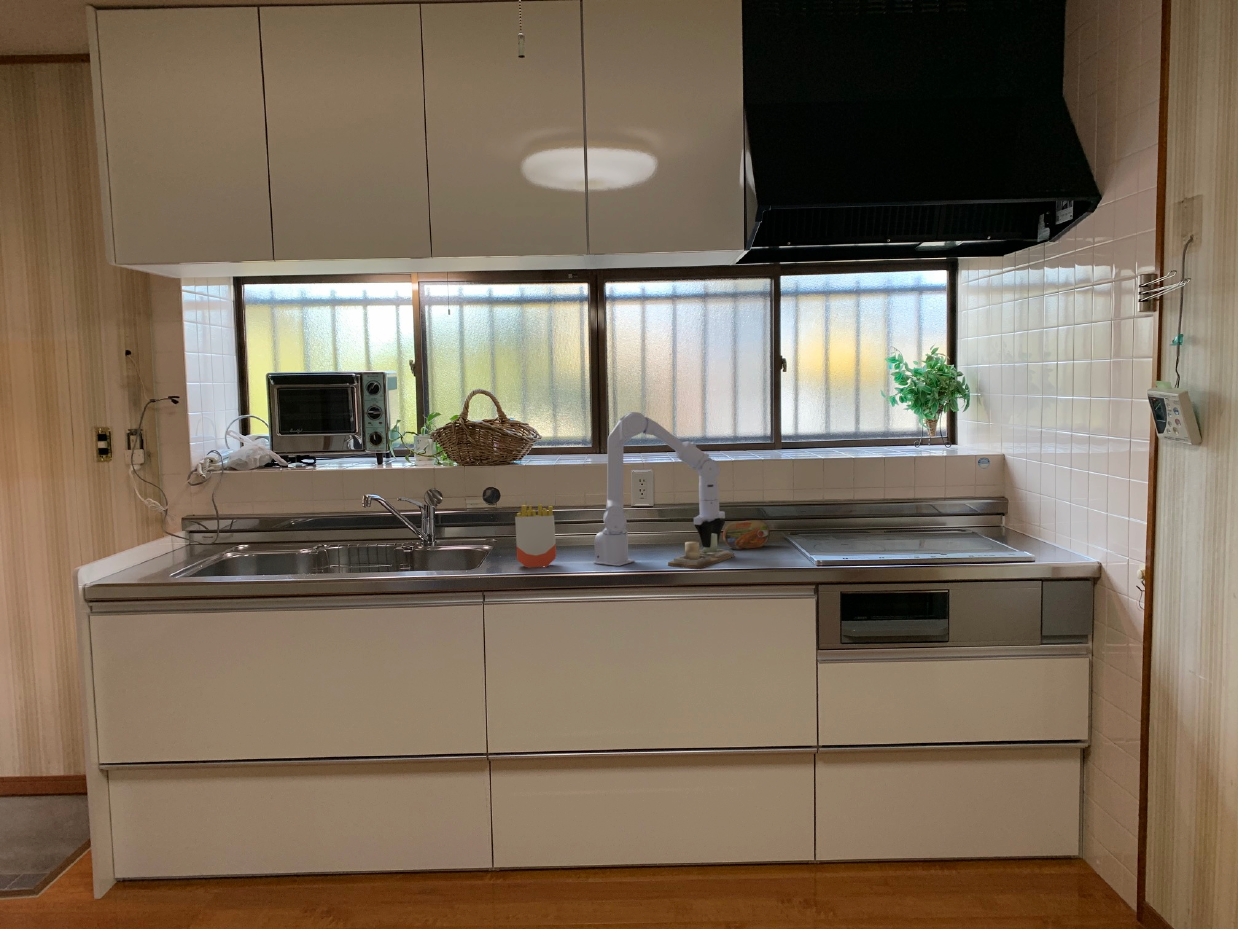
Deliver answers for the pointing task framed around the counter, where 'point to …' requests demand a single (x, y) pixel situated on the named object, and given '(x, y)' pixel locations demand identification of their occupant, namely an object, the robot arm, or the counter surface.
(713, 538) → the sage peg
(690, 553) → the ash peg
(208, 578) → the counter surface
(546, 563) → the french fries container
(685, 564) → the board
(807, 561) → the counter surface
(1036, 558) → the counter surface
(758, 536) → the tin
